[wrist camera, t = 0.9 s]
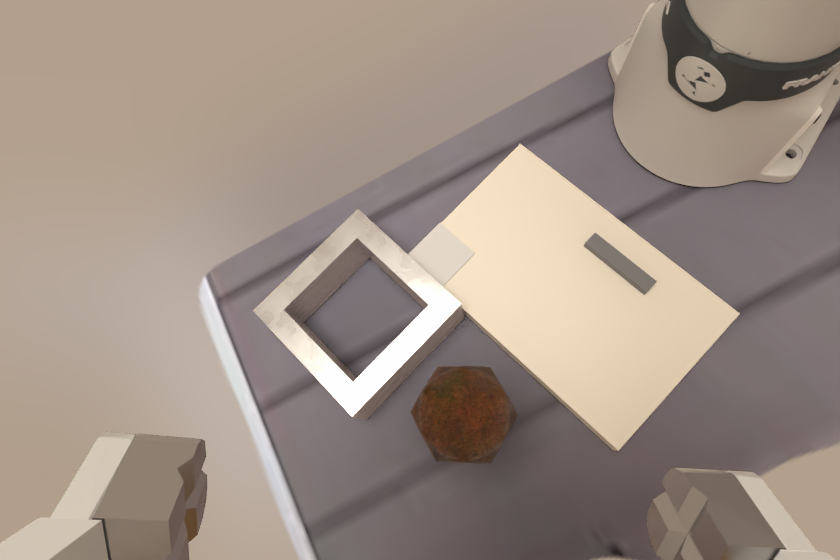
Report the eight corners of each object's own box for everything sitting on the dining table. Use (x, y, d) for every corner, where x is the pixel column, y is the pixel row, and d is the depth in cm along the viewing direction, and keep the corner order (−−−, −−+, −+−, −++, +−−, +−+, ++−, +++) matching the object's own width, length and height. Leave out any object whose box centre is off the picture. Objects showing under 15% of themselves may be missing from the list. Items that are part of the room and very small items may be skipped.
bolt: (426, 405, 45) (397, 387, 31) (481, 375, 45) (477, 343, 31) (462, 473, 44) (448, 487, 29) (519, 441, 44) (532, 439, 29)
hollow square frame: (370, 231, 50) (357, 209, 45) (464, 318, 47) (461, 303, 42) (276, 323, 49) (253, 310, 44) (366, 419, 46) (352, 416, 41)
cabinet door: (519, 153, 50) (520, 139, 48) (730, 318, 44) (744, 311, 42) (409, 263, 49) (405, 254, 46) (613, 450, 43) (620, 451, 40)
